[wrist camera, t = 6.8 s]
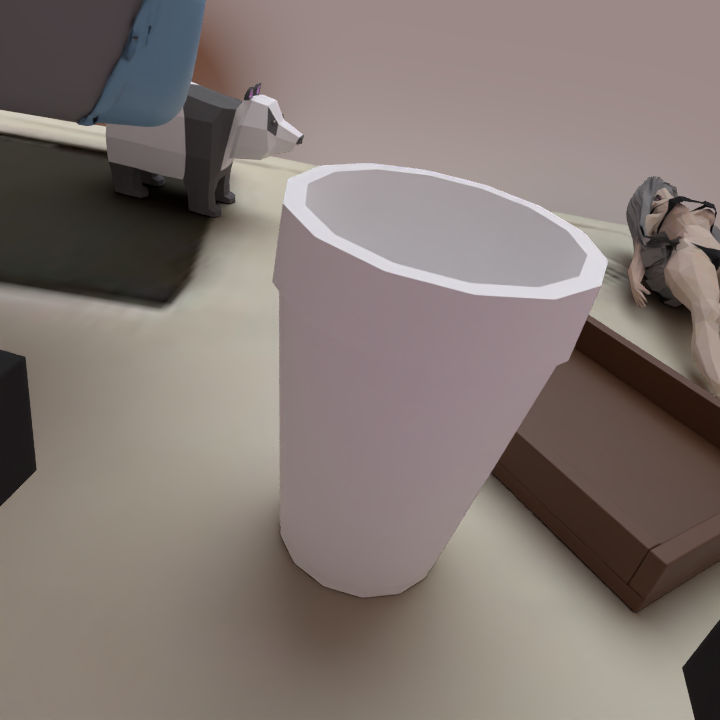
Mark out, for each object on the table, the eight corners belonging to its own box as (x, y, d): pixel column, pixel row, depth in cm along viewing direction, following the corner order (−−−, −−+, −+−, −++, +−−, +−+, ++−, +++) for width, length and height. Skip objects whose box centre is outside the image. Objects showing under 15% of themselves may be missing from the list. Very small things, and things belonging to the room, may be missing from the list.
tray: (379, 363, 36) (390, 320, 35) (542, 330, 43) (557, 294, 42) (635, 614, 25) (667, 565, 23) (797, 512, 32) (830, 470, 30)
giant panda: (94, 190, 49) (90, 53, 44) (128, 171, 53) (128, 46, 48) (281, 236, 48) (299, 103, 43) (298, 213, 53) (317, 91, 48)
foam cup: (311, 422, 30) (365, 146, 24) (497, 504, 28) (617, 226, 21) (188, 558, 23) (214, 208, 16) (430, 687, 20) (584, 344, 14)
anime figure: (759, 372, 34) (614, 148, 57) (687, 462, 38) (580, 222, 61) (926, 403, 34) (717, 170, 57) (836, 489, 39) (675, 242, 62)
